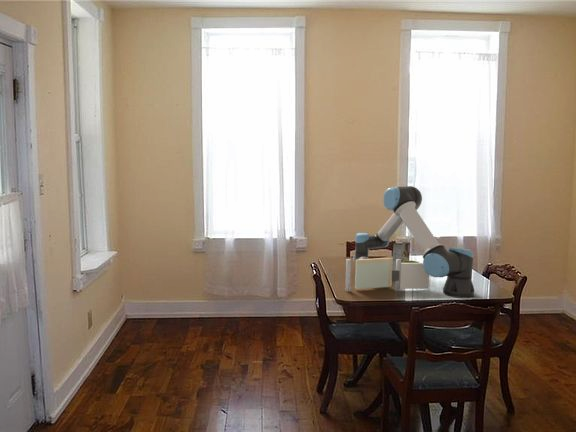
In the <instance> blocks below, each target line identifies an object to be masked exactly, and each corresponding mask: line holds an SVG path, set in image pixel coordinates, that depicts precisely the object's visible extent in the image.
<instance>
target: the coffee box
mask: <svg viewBox="0 0 576 432" xmlns="http://www.w3.org/2000/svg"><path fill="white" fill-rule="evenodd" d="M410 249H411V242H408V241H402V240H401V241H397V242H393V244H392V258H393V264H392V271H396V259H401V263H402V261H408V260H409V261H410V253H411V252H410Z"/></svg>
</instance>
